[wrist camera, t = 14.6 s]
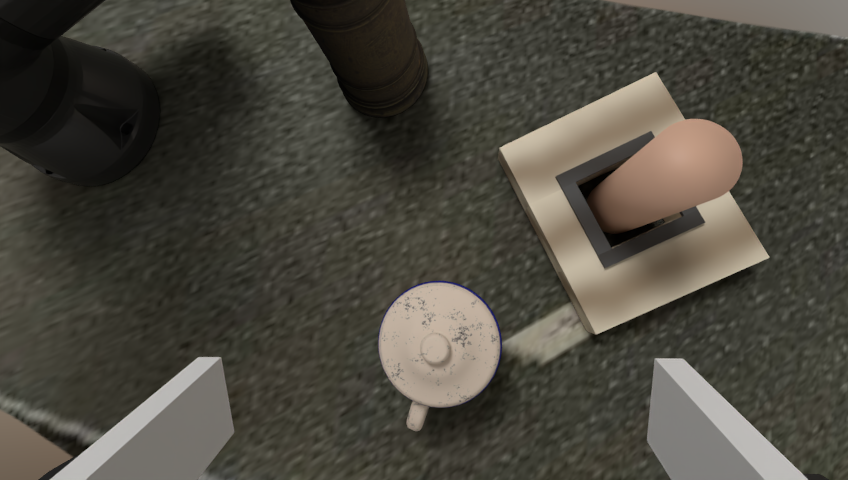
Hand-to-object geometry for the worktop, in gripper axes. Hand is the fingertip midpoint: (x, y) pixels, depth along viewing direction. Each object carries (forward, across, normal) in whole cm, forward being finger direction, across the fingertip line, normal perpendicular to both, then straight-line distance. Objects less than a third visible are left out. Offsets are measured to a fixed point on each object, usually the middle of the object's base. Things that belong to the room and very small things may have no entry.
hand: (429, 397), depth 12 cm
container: (+34, -6, +14) cm, 37 cm away
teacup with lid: (+24, -1, -11) cm, 26 cm away
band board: (+28, +15, +1) cm, 32 cm away
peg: (+28, +15, +1) cm, 32 cm away
